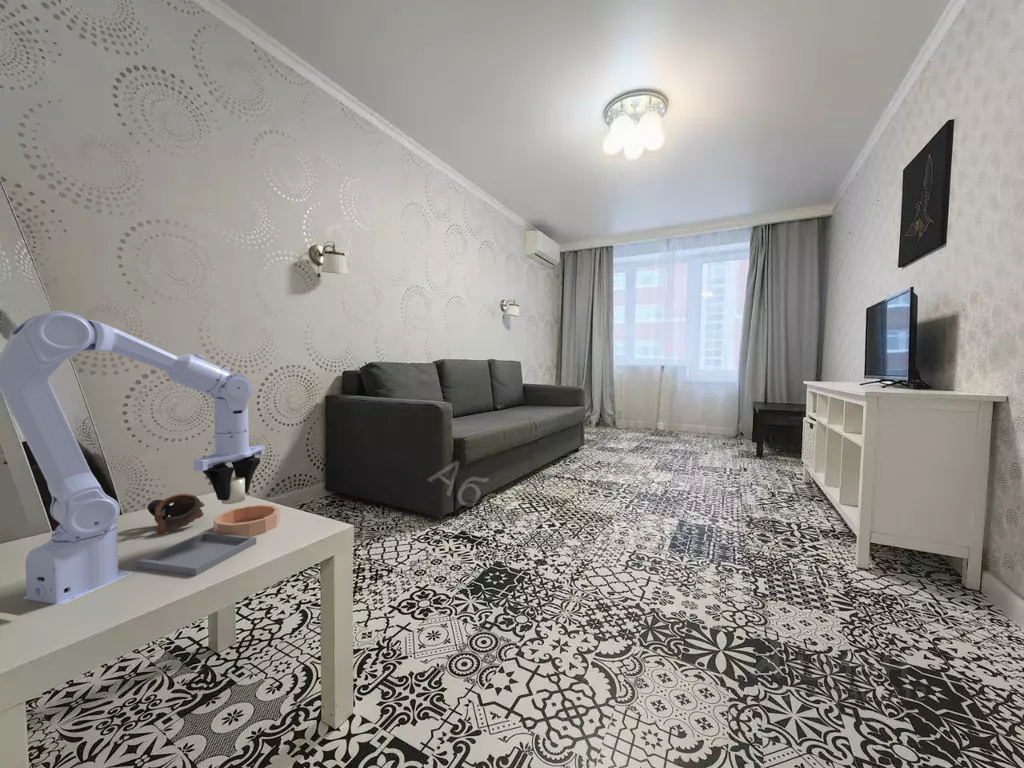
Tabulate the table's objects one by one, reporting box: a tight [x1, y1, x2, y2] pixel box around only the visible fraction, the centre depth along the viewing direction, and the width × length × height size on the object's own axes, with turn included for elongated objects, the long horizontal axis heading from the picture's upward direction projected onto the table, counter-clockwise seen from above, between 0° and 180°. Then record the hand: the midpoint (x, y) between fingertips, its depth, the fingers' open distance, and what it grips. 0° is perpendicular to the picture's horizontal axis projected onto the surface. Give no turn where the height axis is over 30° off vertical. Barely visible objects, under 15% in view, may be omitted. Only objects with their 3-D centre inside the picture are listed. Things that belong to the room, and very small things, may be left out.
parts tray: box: [136, 531, 257, 577], centre depth 74 cm, size 12×12×2 cm
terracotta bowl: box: [213, 504, 281, 537], centre depth 86 cm, size 12×12×4 cm
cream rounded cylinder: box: [221, 476, 246, 505], centre depth 81 cm, size 4×4×4 cm
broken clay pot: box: [147, 493, 206, 534], centre depth 87 cm, size 12×10×8 cm
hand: (233, 496), depth 82 cm, fingers closed on cream rounded cylinder, 4 cm apart
